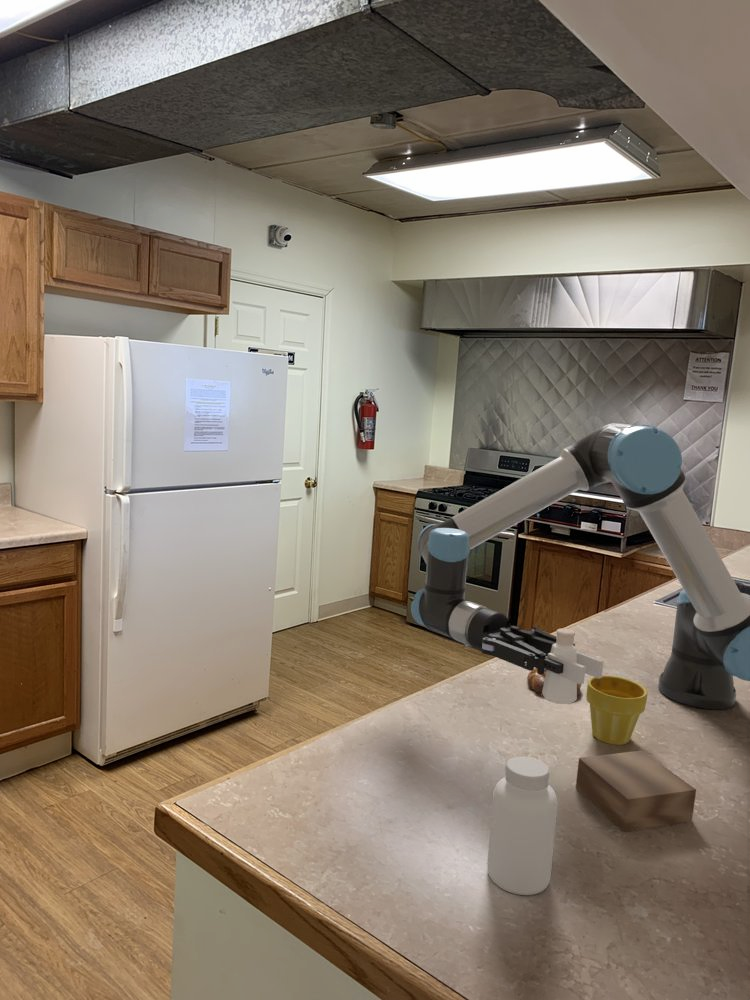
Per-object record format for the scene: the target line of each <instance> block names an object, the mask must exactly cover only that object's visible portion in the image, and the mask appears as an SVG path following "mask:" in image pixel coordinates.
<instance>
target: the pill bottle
mask: <svg viewBox="0 0 750 1000" xmlns="http://www.w3.org/2000/svg"><path fill="white" fill-rule="evenodd" d="M504 774H505V777H503V778H501V779H500V780H499V781H498V782H497V783H496V784H495V787H494V789H493V793H492V805H491V816H490V817H491V818H490V826H489V827H490V829H489V841H488V852H487V853H488V854H487V872H488V876H489V878H490V879H491V881H492V882H493V883H494V884H495V885H496V886H497V887H499V888H501V889H502V890H504V891H506V892H509V893H511V894H514V895H520V896H532V895H537V894H540V893H542V892H543V891H544V890H546V888H547V887H548V886H549V884H550V881H551V876H552V866H553V864H552V863H553V857H554V845H555V835H556V825H557V815H558V814H557V813H558V805H559V803H558V798H557V797H558V796H557V794H556V792H555V791H554V788H553V787H552V786H551V785H550V784H549V781H550V768H549V767H548V765H547V764H546V763H545V762H543V761H542V760H539V759H538V758H534V757H531V756H514V757H511V758H510V759H508V760H507V761H506V764H505V773H504Z"/></svg>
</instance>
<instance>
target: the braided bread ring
mask: <svg viewBox="0 0 750 1000" xmlns="http://www.w3.org/2000/svg"><path fill="white" fill-rule="evenodd" d="M537 670H538V669H537V668H535V667H534V670H532V671H529V673H528V675H527V677H526V678H527V684H528V686H529V688H530V689H531V690H533V691H535V692H536V693H537V694H539V695H541V696H543V694H542V690H543V685H544V681H545V676H546V671H547V670H546V669H544V674H537ZM581 687H582V684H581V685H580V684H578V683H577V697H579V696H580V695H581V691H582V690H581Z"/></svg>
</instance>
